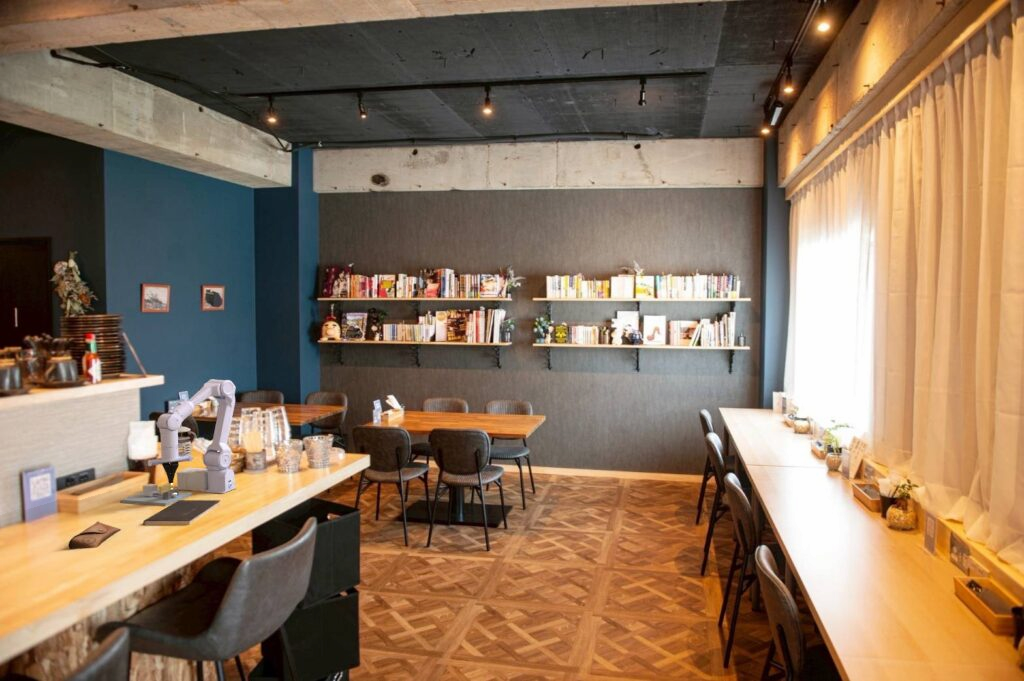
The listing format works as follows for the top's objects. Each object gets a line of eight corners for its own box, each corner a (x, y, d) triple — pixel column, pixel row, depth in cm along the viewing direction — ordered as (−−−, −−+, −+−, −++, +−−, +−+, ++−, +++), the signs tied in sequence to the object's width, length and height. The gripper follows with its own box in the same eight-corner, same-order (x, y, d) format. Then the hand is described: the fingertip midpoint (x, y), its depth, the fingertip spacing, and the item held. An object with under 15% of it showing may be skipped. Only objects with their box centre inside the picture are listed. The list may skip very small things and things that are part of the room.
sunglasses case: (98, 547, 213) (85, 529, 212) (77, 560, 212) (64, 542, 211) (122, 528, 231) (111, 512, 230) (103, 540, 230) (92, 523, 229)
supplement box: (189, 484, 285) (216, 486, 283) (176, 489, 278) (204, 491, 275) (188, 467, 285) (216, 468, 282) (176, 471, 278) (204, 473, 275)
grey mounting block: (178, 495, 266) (178, 488, 266) (168, 499, 261) (168, 491, 261) (173, 495, 267) (173, 487, 267) (162, 499, 261) (162, 491, 261)
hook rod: (179, 496, 265) (179, 485, 264) (173, 498, 262) (173, 487, 261) (149, 494, 268) (148, 483, 268) (143, 496, 265) (142, 485, 265)
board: (191, 495, 270) (191, 492, 270) (165, 505, 256) (165, 503, 256) (147, 492, 274) (147, 489, 274) (120, 502, 261) (119, 499, 261)
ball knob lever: (174, 489, 264) (174, 482, 264) (162, 493, 258) (162, 486, 258) (170, 488, 265) (170, 482, 265) (158, 493, 258) (157, 486, 258)
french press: (167, 458, 333) (165, 406, 332) (191, 454, 342) (189, 404, 341) (176, 461, 327) (174, 408, 326) (201, 457, 336) (199, 405, 334)
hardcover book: (220, 506, 257) (220, 500, 257) (190, 526, 234) (190, 519, 234) (177, 506, 258) (177, 500, 257) (143, 526, 235) (143, 519, 234)
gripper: (189, 442, 265) (190, 477, 265) (146, 446, 257) (147, 482, 257) (192, 445, 259) (193, 481, 259) (148, 450, 251) (149, 487, 252)
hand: (170, 482), depth 258 cm, fingers closed
